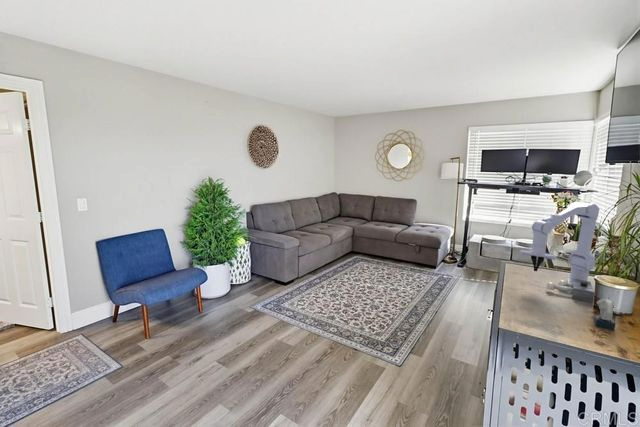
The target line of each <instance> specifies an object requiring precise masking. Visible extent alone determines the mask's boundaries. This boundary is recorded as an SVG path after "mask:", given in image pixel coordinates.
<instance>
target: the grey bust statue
mask: <svg viewBox="0 0 640 427" xmlns="http://www.w3.org/2000/svg"><path fill="white" fill-rule="evenodd" d="M608 299H609V298H602V299H598V301H596V304H597V305H598V309H599V310H600V312H599V313H600V315H597V314H594V318H593V324H594V327H595V328H600V329H603V330H609V331H613V332H615V328H616V321H615V319H614V318H613V308H614V302H613V301H611V300H608Z"/></svg>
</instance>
